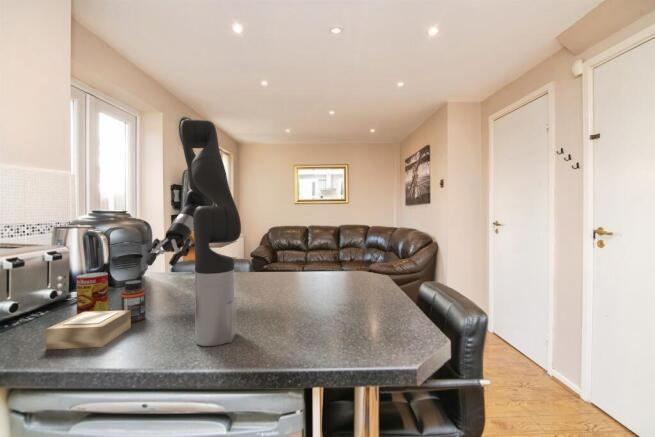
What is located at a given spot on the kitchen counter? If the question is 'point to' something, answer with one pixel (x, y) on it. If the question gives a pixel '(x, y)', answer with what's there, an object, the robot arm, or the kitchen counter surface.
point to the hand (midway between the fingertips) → (159, 264)
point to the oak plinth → (88, 329)
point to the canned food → (92, 292)
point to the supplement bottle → (134, 300)
